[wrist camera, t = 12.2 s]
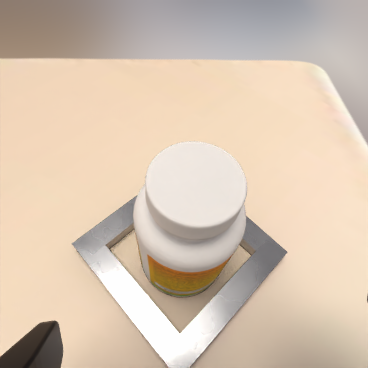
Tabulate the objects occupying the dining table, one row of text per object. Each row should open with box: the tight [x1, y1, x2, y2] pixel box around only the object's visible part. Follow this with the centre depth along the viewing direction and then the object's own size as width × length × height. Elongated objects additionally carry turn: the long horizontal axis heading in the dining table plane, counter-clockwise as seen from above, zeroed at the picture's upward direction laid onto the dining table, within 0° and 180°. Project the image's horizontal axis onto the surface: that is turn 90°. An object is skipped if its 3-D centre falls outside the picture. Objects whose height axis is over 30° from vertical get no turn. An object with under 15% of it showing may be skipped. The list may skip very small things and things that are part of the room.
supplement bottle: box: [133, 141, 247, 297], centre depth 15 cm, size 5×5×10 cm
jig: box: [72, 195, 287, 368], centre depth 19 cm, size 10×10×1 cm
